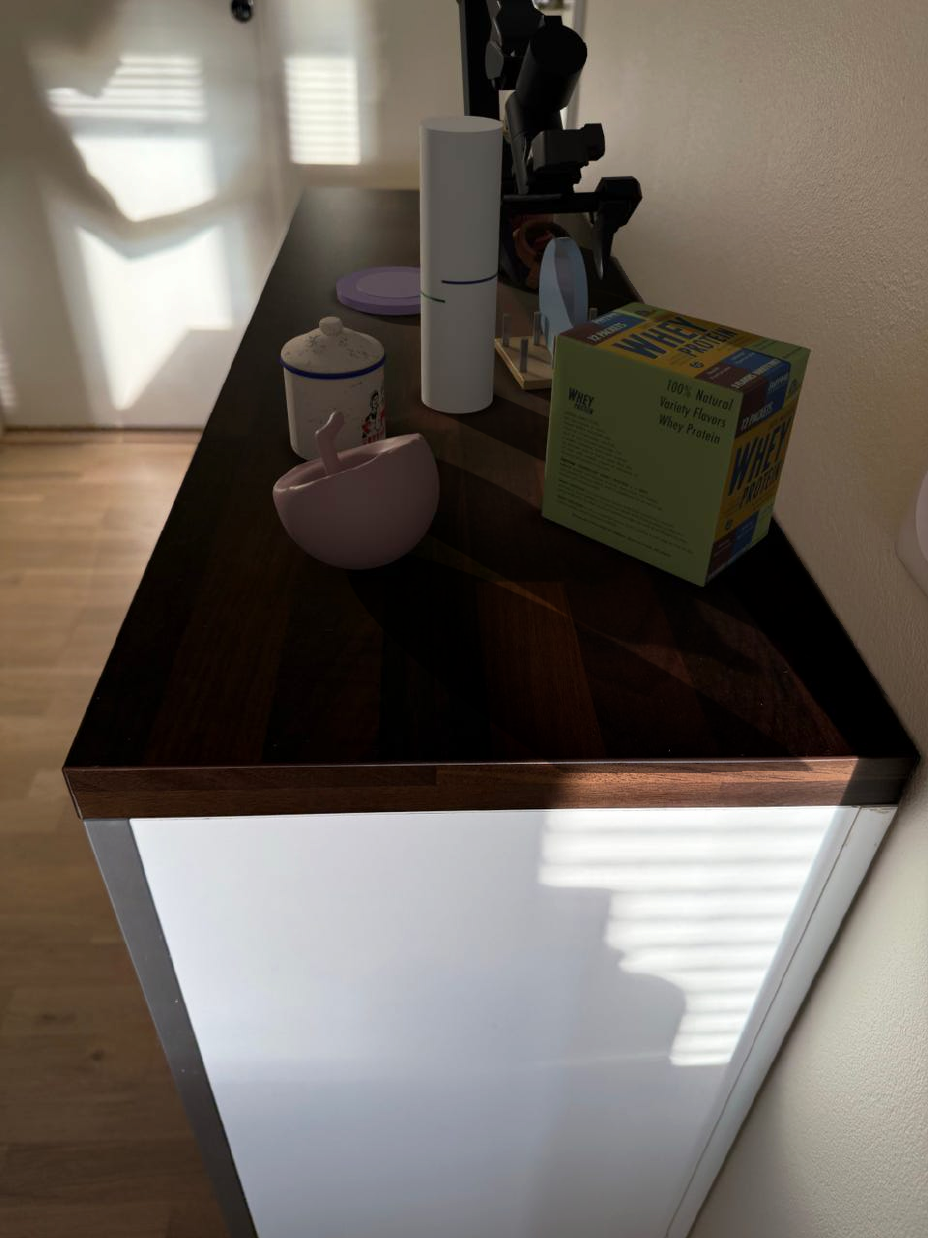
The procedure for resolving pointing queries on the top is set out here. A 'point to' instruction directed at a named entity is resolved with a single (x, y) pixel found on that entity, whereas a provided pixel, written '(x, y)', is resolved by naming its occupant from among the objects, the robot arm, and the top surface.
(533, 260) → the pottery mug
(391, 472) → the mortar and pestle
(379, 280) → the lavender plate
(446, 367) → the cylindrical container
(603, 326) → the protein box
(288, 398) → the teacup with lid
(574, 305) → the blue plate
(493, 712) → the top surface
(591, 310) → the dish rack
